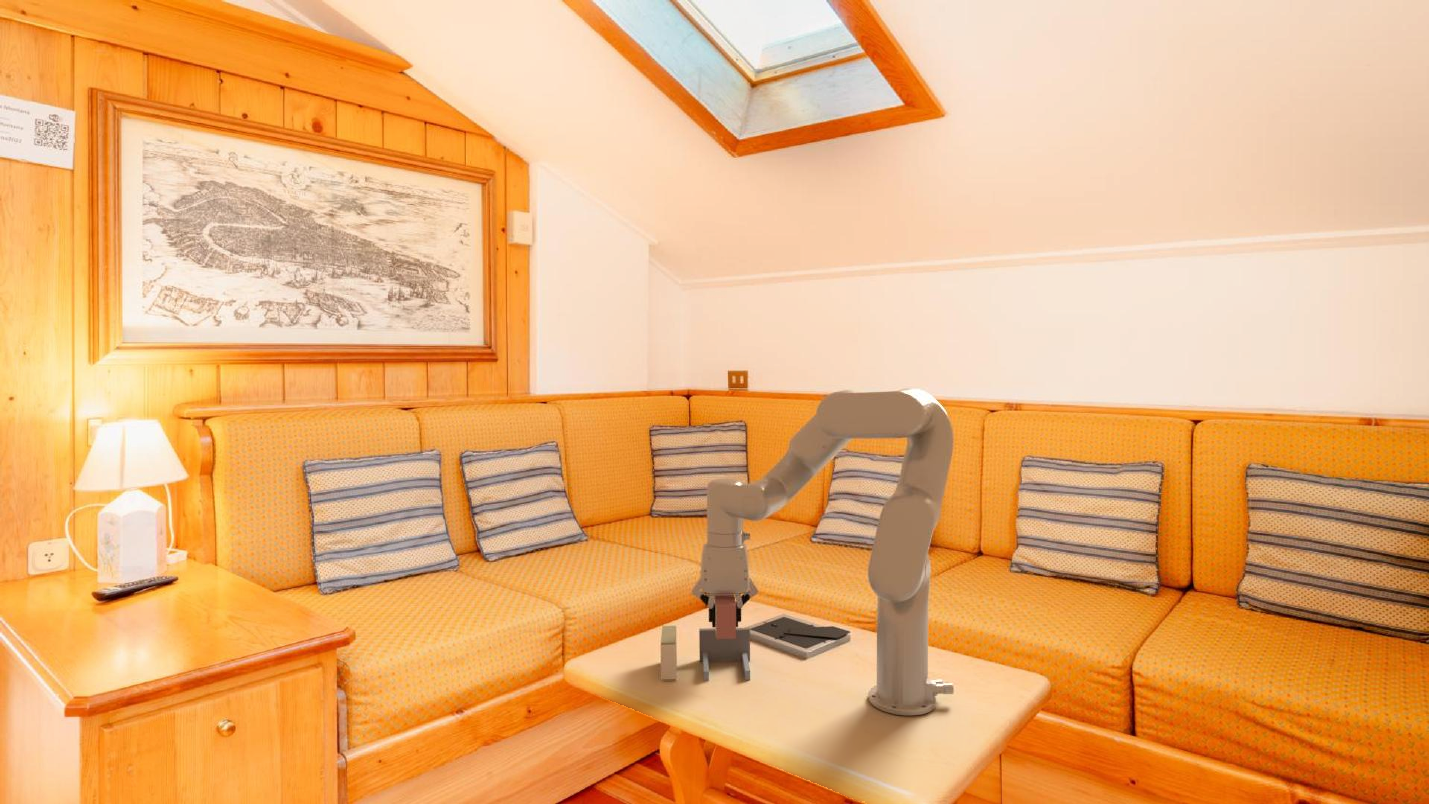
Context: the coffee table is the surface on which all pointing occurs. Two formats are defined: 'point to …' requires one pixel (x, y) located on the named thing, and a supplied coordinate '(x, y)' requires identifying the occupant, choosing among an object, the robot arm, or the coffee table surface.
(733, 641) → the shelf slot
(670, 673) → the olive rectangular block
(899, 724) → the coffee table surface
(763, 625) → the picture frame
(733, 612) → the reddish pink rectangular block
